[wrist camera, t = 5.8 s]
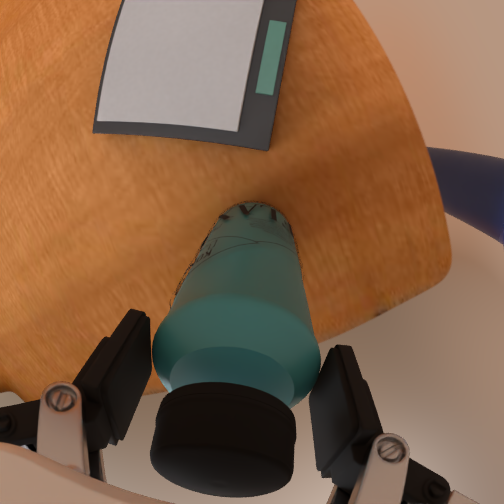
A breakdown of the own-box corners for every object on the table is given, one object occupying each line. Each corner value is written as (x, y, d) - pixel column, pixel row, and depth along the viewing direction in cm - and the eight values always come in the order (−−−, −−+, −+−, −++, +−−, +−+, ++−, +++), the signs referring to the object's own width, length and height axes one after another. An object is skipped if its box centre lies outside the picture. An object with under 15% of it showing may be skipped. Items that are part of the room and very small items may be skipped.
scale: (296, -2, 17) (300, -18, 14) (268, 150, 22) (268, 151, 19) (138, -7, 16) (125, -20, 13) (106, 132, 21) (88, 133, 19)
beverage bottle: (303, 209, 23) (405, 434, 5) (276, 280, 26) (287, 519, 7) (225, 184, 23) (85, 365, 4) (204, 258, 25) (108, 481, 7)
